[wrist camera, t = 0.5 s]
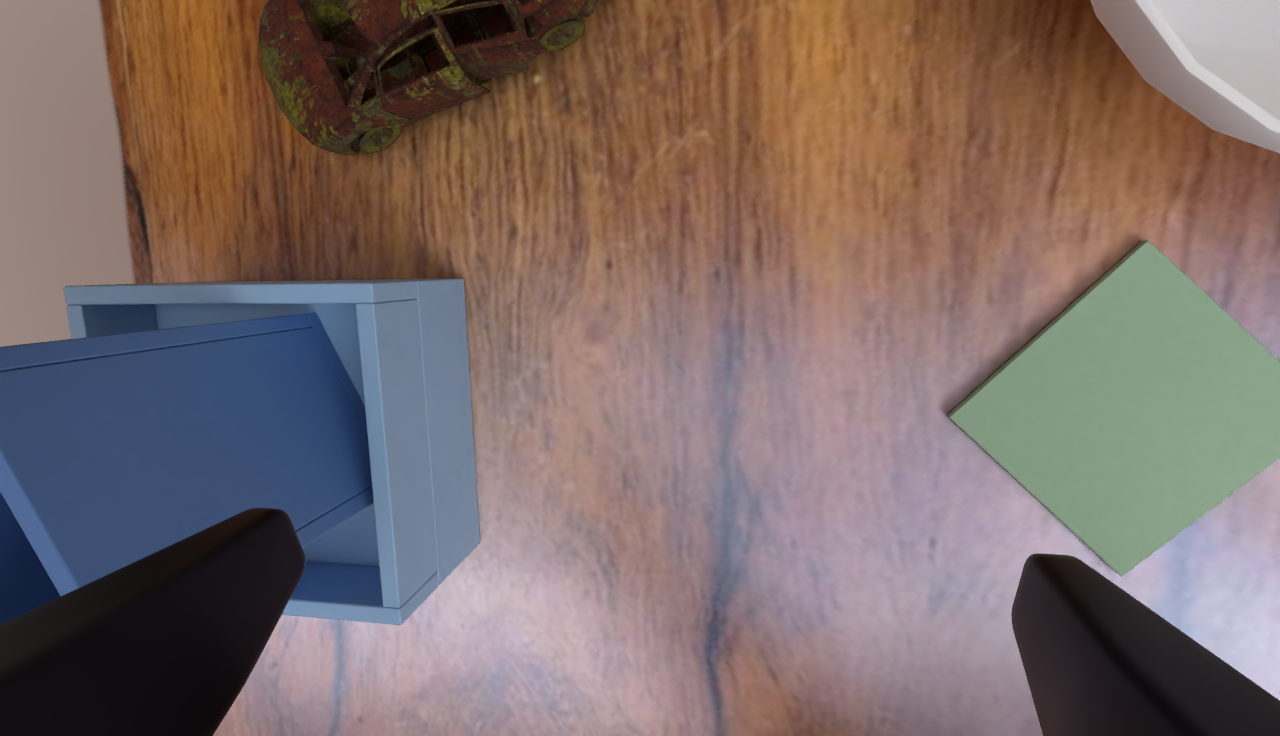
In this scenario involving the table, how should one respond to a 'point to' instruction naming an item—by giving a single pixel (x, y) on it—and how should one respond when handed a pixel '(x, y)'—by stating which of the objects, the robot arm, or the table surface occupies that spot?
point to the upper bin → (168, 445)
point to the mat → (1132, 410)
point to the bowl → (1207, 59)
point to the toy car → (398, 59)
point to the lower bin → (395, 416)
